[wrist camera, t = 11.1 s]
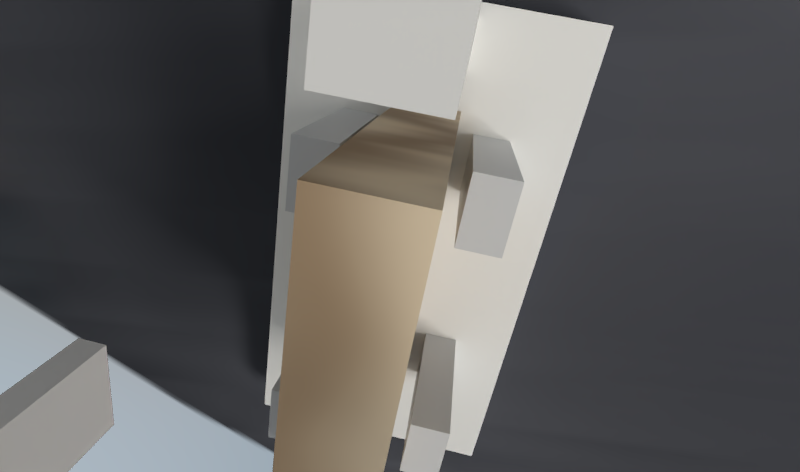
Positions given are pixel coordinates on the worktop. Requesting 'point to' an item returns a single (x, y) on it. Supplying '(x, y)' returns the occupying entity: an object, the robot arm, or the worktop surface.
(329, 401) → the oak door
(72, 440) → the robot arm
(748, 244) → the worktop surface
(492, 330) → the white holder stand
